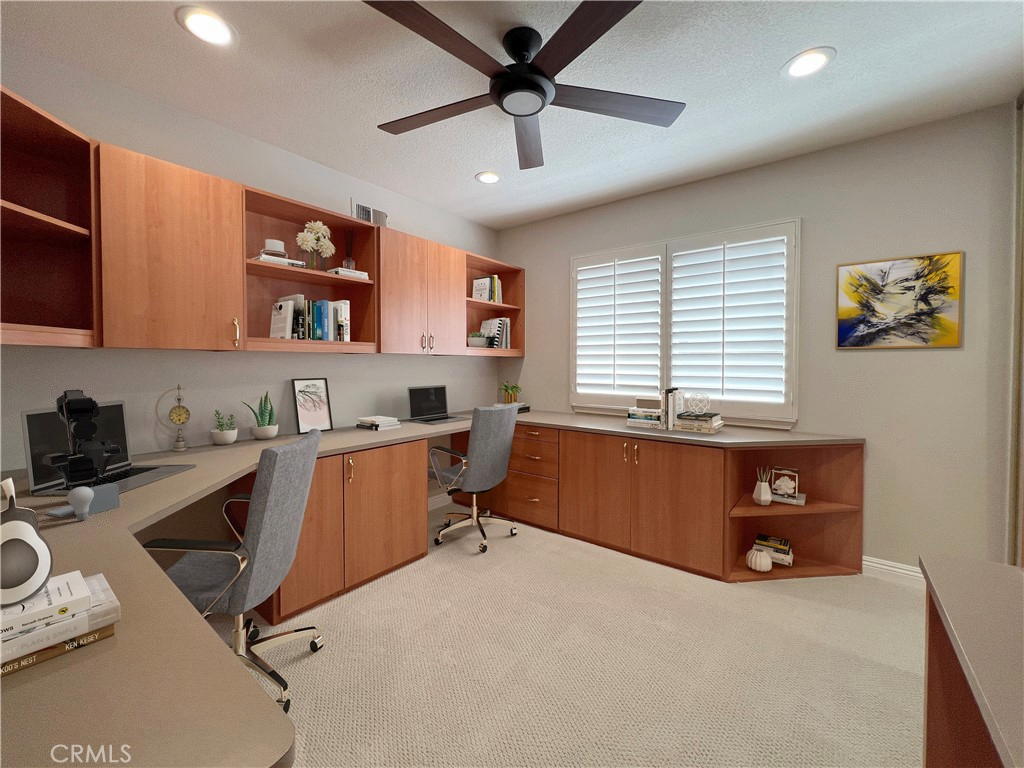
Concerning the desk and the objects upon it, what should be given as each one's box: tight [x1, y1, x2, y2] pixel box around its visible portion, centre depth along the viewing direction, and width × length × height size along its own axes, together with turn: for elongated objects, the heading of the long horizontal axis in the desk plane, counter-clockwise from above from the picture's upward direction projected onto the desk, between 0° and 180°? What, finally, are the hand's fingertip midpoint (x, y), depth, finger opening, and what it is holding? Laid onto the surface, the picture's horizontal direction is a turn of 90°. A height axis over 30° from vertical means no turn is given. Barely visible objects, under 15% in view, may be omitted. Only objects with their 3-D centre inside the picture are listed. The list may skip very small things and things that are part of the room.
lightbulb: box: [66, 487, 94, 522], centre depth 137 cm, size 6×6×11 cm
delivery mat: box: [45, 505, 74, 518], centre depth 146 cm, size 9×9×1 cm
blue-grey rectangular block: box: [73, 482, 121, 516], centre depth 146 cm, size 5×10×8 cm, turn 160°
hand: (85, 478), depth 147 cm, fingers open, 9 cm apart
